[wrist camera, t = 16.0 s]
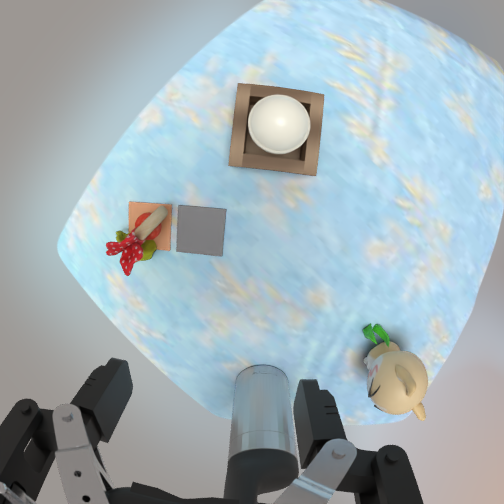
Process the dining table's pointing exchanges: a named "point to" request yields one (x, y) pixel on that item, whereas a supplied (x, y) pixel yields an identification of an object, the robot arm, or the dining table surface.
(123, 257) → the bird rattle
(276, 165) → the button frame
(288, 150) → the dome button
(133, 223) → the tile
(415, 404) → the kitten
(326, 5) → the dining table surface
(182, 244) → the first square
